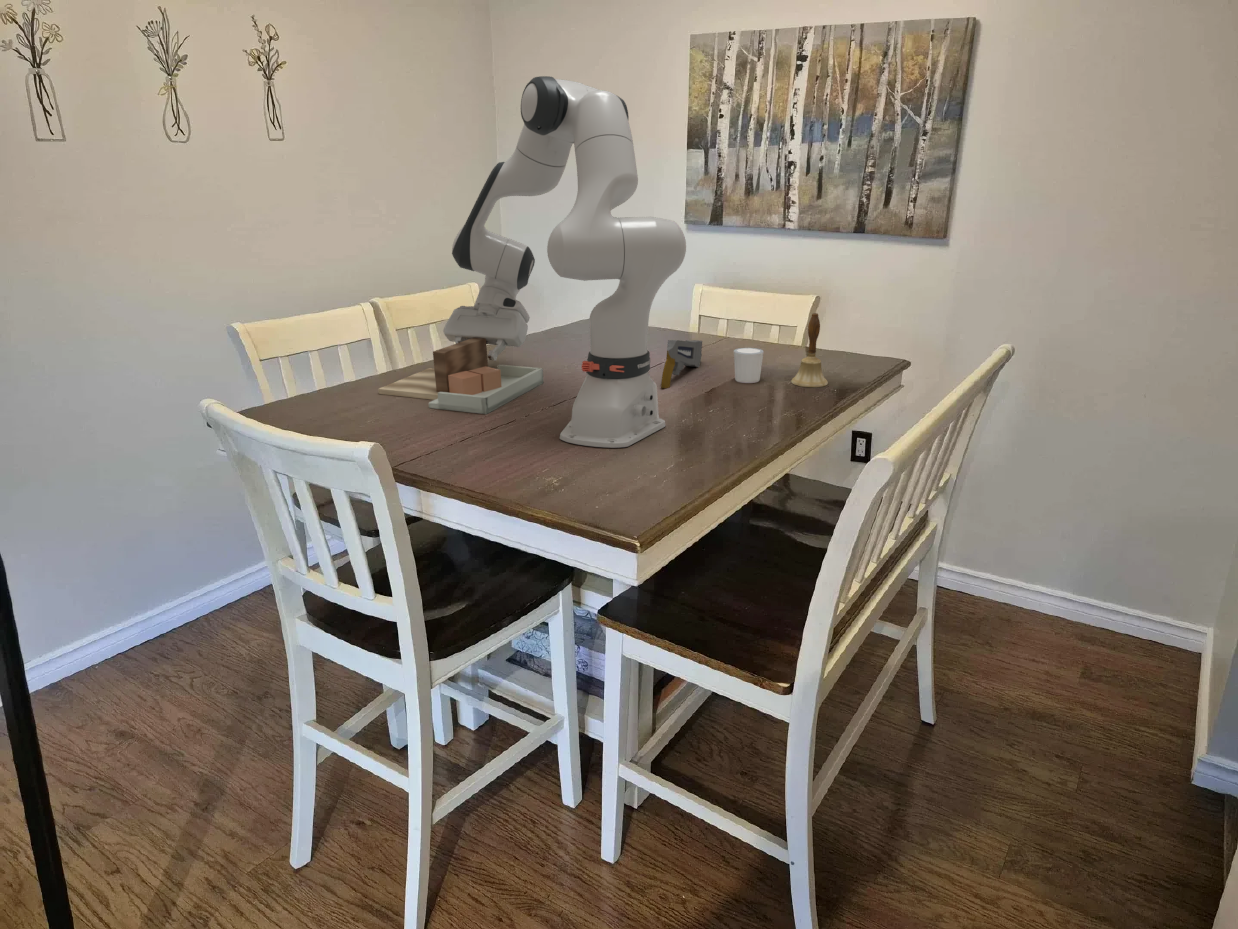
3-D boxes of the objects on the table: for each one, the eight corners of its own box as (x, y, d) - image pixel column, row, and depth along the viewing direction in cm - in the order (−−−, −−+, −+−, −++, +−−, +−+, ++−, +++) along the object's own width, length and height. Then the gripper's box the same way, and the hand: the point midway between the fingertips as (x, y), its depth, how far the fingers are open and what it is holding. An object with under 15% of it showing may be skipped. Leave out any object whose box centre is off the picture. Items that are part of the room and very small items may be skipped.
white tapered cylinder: (763, 377, 196) (765, 347, 193) (760, 384, 190) (761, 354, 187) (734, 375, 198) (735, 346, 195) (730, 382, 191) (731, 352, 189)
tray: (486, 414, 171) (485, 397, 170) (428, 407, 176) (427, 391, 175) (543, 382, 194) (542, 368, 192) (491, 377, 199) (490, 363, 197)
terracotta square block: (484, 391, 183) (483, 374, 182) (469, 388, 186) (468, 370, 185) (501, 387, 187) (500, 369, 185) (487, 383, 190) (485, 366, 188)
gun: (697, 400, 209) (705, 341, 209) (667, 388, 186) (676, 321, 186) (685, 399, 210) (693, 340, 210) (654, 386, 187) (663, 320, 187)
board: (445, 401, 181) (444, 395, 180) (378, 393, 187) (378, 388, 186) (491, 378, 198) (491, 373, 198) (429, 372, 204) (429, 367, 204)
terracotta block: (463, 397, 179) (462, 379, 178) (449, 392, 182) (448, 375, 181) (481, 392, 183) (480, 374, 181) (467, 388, 186) (466, 370, 184)
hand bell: (831, 380, 192) (836, 311, 187) (823, 389, 185) (829, 317, 180) (795, 377, 196) (800, 309, 190) (787, 385, 189) (791, 315, 183)
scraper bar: (447, 393, 182) (444, 352, 179) (436, 391, 183) (432, 351, 180) (488, 375, 196) (485, 338, 192) (478, 374, 197) (475, 337, 194)
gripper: (449, 297, 198) (430, 346, 193) (526, 302, 190) (508, 353, 185) (461, 313, 203) (442, 361, 198) (536, 318, 196) (518, 368, 191)
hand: (474, 357), depth 192 cm, fingers open, 7 cm apart
